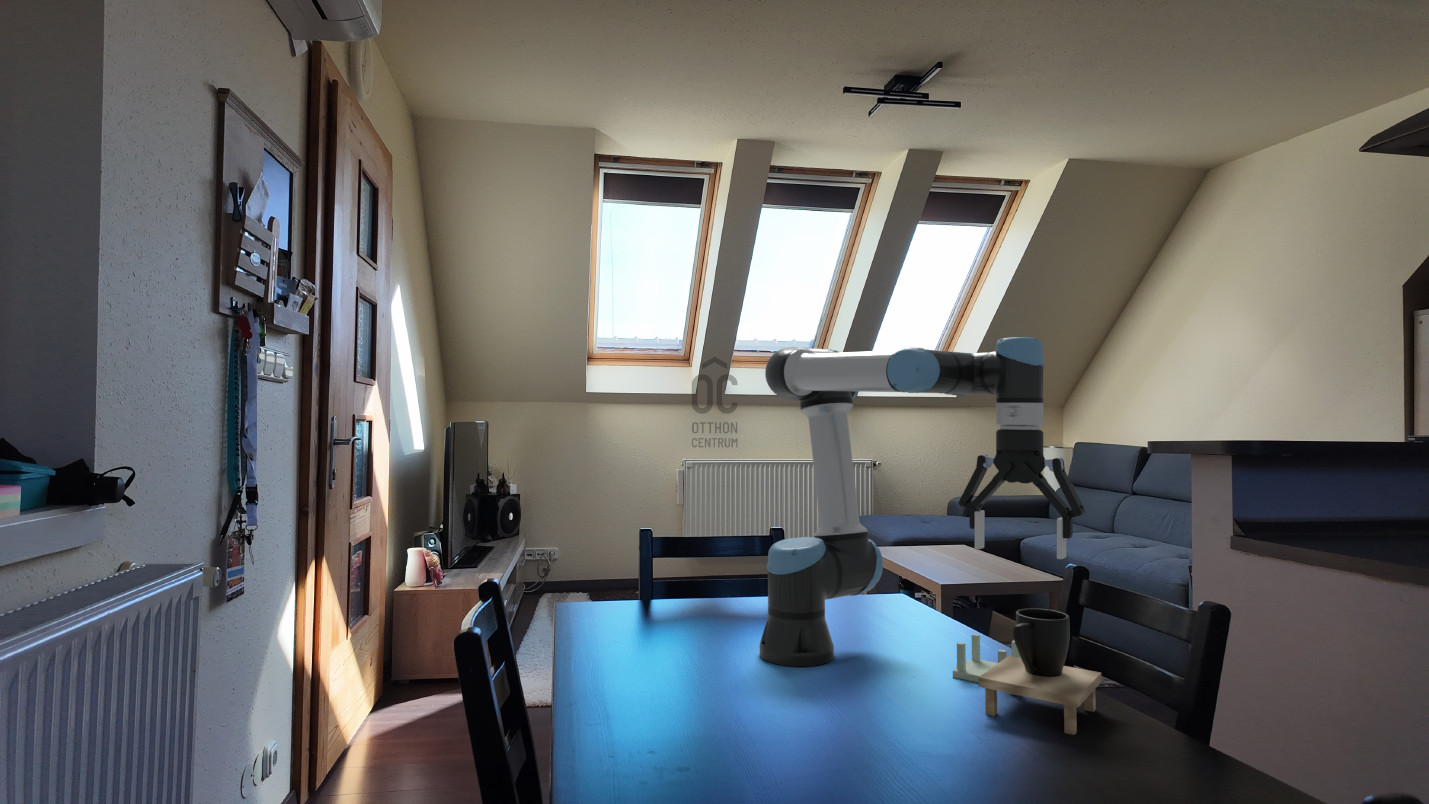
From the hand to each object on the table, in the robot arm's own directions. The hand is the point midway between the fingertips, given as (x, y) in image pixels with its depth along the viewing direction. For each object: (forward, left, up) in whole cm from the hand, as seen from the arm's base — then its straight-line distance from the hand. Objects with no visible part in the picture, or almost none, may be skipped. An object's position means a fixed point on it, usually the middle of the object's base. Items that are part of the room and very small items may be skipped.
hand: (1019, 553), depth 129 cm
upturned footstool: (-9, +11, -25) cm, 29 cm away
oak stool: (+4, -2, -25) cm, 26 cm away
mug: (+3, -2, -19) cm, 20 cm away
